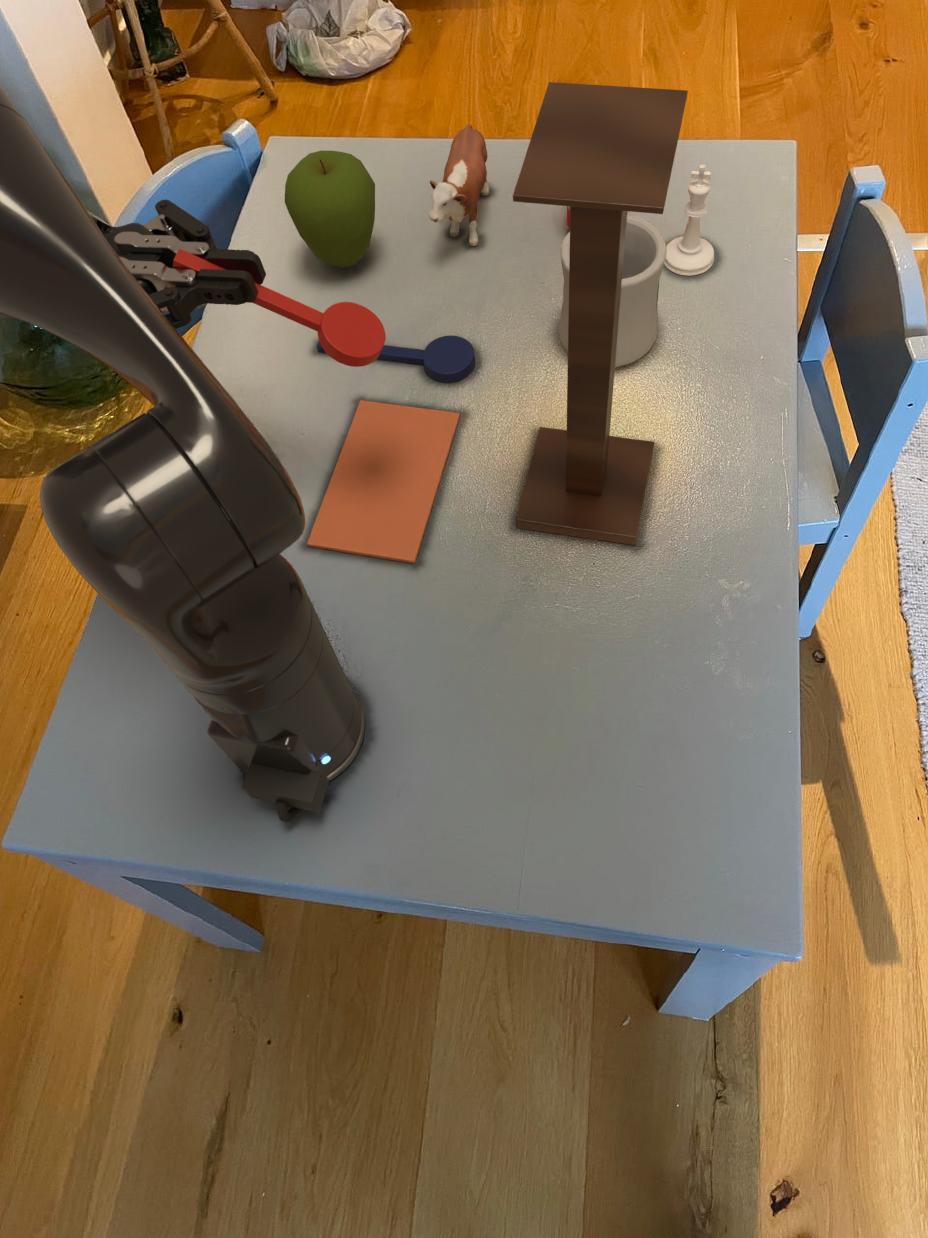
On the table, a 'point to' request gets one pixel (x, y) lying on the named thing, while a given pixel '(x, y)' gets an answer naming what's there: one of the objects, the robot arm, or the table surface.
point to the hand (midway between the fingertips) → (256, 277)
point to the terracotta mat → (385, 481)
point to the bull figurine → (462, 182)
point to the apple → (332, 206)
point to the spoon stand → (595, 293)
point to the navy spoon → (435, 357)
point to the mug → (629, 290)
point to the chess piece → (692, 232)
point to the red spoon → (317, 319)
